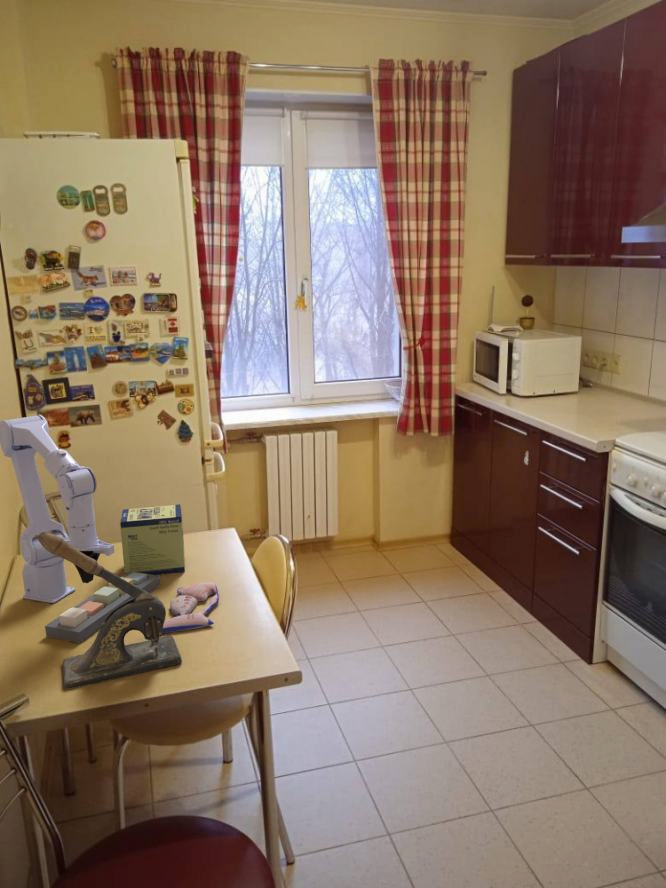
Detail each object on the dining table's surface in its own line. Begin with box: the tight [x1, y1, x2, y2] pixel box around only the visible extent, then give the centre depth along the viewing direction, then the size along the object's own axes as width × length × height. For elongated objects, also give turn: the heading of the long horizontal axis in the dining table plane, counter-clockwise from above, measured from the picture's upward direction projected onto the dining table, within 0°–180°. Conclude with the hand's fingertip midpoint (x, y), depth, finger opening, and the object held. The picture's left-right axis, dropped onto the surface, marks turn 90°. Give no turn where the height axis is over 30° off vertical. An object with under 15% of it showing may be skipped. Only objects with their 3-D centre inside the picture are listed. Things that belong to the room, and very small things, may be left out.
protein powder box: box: [119, 504, 186, 576], centre depth 184 cm, size 10×16×16 cm
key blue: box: [125, 572, 147, 585], centre depth 173 cm, size 4×4×3 cm
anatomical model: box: [163, 582, 220, 634], centre depth 162 cm, size 20×3×15 cm
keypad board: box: [44, 571, 161, 644], centre depth 163 cm, size 9×30×2 cm, turn 160°
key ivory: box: [58, 606, 88, 628], centre depth 152 cm, size 4×4×3 cm
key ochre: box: [108, 576, 133, 595], centre depth 168 cm, size 4×4×3 cm
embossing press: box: [37, 532, 183, 690], centre depth 136 cm, size 11×24×30 cm, turn 109°
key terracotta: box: [79, 601, 104, 616], centre depth 158 cm, size 4×4×3 cm
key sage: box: [92, 586, 119, 605], centre depth 162 cm, size 4×4×3 cm
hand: (87, 581), depth 156 cm, fingers closed
